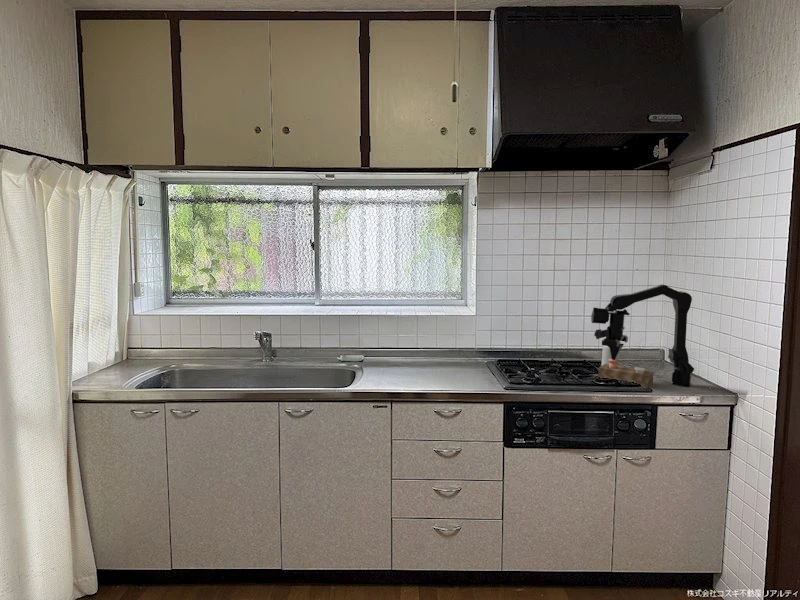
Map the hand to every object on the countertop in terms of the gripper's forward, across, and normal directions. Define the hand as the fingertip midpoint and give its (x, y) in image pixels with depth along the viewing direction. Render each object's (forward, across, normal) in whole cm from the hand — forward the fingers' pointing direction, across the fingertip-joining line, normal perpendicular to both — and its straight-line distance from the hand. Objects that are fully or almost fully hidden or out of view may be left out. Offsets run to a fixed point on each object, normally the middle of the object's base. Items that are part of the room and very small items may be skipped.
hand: (613, 359), depth 226 cm
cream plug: (+8, 0, +11) cm, 13 cm away
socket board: (+8, 0, +5) cm, 10 cm away
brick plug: (+6, 0, 0) cm, 6 cm away
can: (+9, -20, -7) cm, 23 cm away
